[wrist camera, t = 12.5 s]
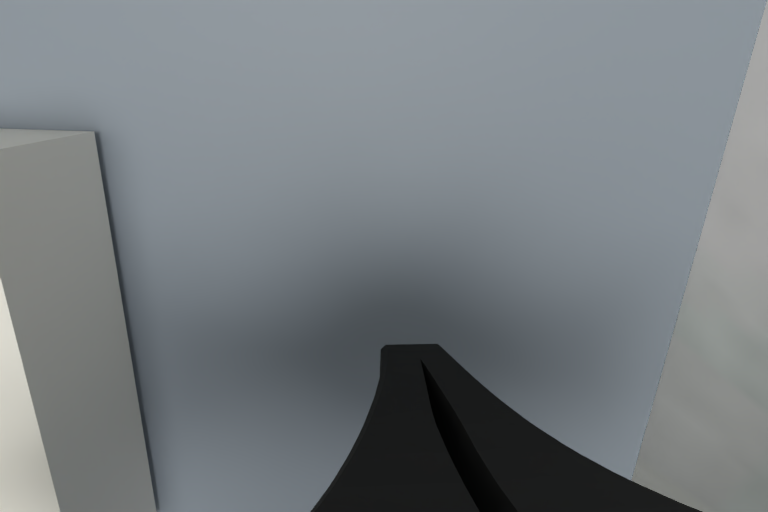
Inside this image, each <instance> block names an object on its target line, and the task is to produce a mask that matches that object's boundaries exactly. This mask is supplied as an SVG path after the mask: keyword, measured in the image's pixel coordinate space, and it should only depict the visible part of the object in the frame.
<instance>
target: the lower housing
mask: <svg viewBox="0 0 768 512" xmlns="http://www.w3.org/2000/svg"><path fill="white" fill-rule="evenodd" d="M0 512H156V506H155V500H154V494H153V488H152V482H151V476H150V470H149V463H148V457H147V451H146V445H145V439H144V433H143V427H142V421H141V415H140V408H139V402H138V396H137V390H136V384H135V378H134V372H133V366H132V360H131V354H130V347H129V341H128V335H127V329H126V323H125V317H124V311H123V305H122V299H121V292H120V286H119V280H118V274H117V268H116V262H115V256H114V250H113V244H112V237H111V231H110V225H109V219H108V213H107V207H106V201H105V195H104V189H103V183H102V176H101V170H100V164H99V158H98V152H97V146H96V140H95V134H94V131H63V130H31V129H0Z"/></svg>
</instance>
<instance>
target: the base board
mask: <svg viewBox="0 0 768 512" xmlns="http://www.w3.org/2000/svg"><path fill="white" fill-rule="evenodd" d="M766 2H767V0H0V129H31V130H63V131H94V134H95V140H96V146H97V152H98V158H99V164H100V170H101V176H102V183H103V189H104V195H105V201H106V207H107V213H108V219H109V225H110V231H111V237H112V244H113V250H114V256H115V262H116V268H117V274H118V280H119V286H120V292H121V299H122V305H123V311H124V317H125V323H126V329H127V335H128V341H129V347H130V354H131V360H132V366H133V372H134V378H135V384H136V390H137V396H138V402H139V408H140V415H141V421H142V427H143V433H144V439H145V445H146V451H147V457H148V463H149V470H150V476H151V482H152V488H153V494H154V500H155V506H156V512H311V510H312V509H313V508H314V506H315V505H316V503H317V502H318V501H319V499H320V498H321V497H322V495H323V494H324V493H325V491H326V490H327V489H328V487H329V486H330V484H331V483H332V481H333V480H334V478H335V476H336V475H337V473H338V472H339V470H340V468H341V467H342V465H343V463H344V462H345V460H346V458H347V456H348V455H349V453H350V451H351V449H352V447H353V445H354V443H355V442H356V440H357V438H358V436H359V433H360V431H361V429H362V427H363V425H364V422H365V420H366V417H367V415H368V412H369V410H370V407H371V404H372V402H373V399H374V396H375V393H376V389H377V385H378V382H379V378H380V354H381V348H383V347H384V346H385V345H397V344H439V345H440V346H441V347H442V348H443V349H444V350H445V351H446V352H447V353H448V354H449V355H450V356H452V357H453V358H454V359H455V360H456V361H457V362H458V363H459V364H460V365H461V366H462V367H463V368H464V369H465V370H466V371H468V372H469V373H470V374H471V375H472V376H473V377H474V378H475V379H476V380H478V381H479V382H480V383H481V384H482V385H483V386H484V387H486V388H487V389H488V390H489V391H490V392H491V393H493V394H494V395H495V396H496V397H498V398H499V399H500V400H501V401H503V402H504V403H505V404H506V405H508V406H509V407H510V408H512V409H513V410H514V411H516V412H517V413H518V414H520V415H521V416H522V417H523V418H525V419H526V420H528V421H529V422H531V423H532V424H533V425H535V426H536V427H538V428H539V429H541V430H542V431H544V432H546V433H547V434H549V435H550V436H552V437H553V438H555V439H556V440H558V441H559V442H561V443H563V444H564V445H566V446H568V447H569V448H571V449H573V450H574V451H576V452H578V453H579V454H581V455H583V456H585V457H587V458H589V459H590V460H592V461H594V462H596V463H598V464H600V465H601V466H603V467H605V468H607V469H609V470H611V471H613V472H615V473H616V474H619V475H621V476H623V477H625V478H627V479H629V480H631V479H632V476H633V472H634V469H635V465H636V462H637V458H638V455H639V451H640V448H641V444H642V441H643V437H644V433H645V430H646V426H647V423H648V419H649V416H650V412H651V409H652V405H653V402H654V398H655V395H656V391H657V387H658V384H659V380H660V377H661V373H662V370H663V366H664V363H665V359H666V356H667V352H668V349H669V345H670V341H671V338H672V334H673V331H674V327H675V324H676V320H677V317H678V313H679V310H680V306H681V303H682V299H683V295H684V292H685V288H686V285H687V281H688V278H689V274H690V271H691V267H692V264H693V260H694V257H695V253H696V249H697V246H698V242H699V239H700V235H701V232H702V228H703V225H704V221H705V218H706V214H707V211H708V207H709V203H710V200H711V196H712V193H713V189H714V186H715V182H716V179H717V175H718V172H719V168H720V165H721V161H722V157H723V154H724V150H725V147H726V143H727V140H728V136H729V133H730V129H731V126H732V122H733V119H734V115H735V111H736V108H737V104H738V101H739V97H740V94H741V90H742V87H743V83H744V80H745V76H746V73H747V69H748V65H749V62H750V58H751V55H752V51H753V48H754V44H755V41H756V37H757V34H758V30H759V27H760V23H761V19H762V16H763V12H764V9H765V5H766Z"/></svg>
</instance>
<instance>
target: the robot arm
mask: <svg viewBox="0 0 768 512" xmlns="http://www.w3.org/2000/svg"><path fill="white" fill-rule="evenodd" d="M311 512H702V511H699V510H697V509H694V508H691V507H689V506H686V505H684V504H682V503H679V502H677V501H675V500H672V499H670V498H668V497H666V496H663V495H661V494H659V493H657V492H655V491H652V490H650V489H648V488H646V487H643V486H641V485H639V484H637V483H635V482H633V481H631V480H629V479H627V478H625V477H623V476H621V475H619V474H616V473H615V472H613V471H611V470H609V469H607V468H605V467H603V466H601V465H600V464H598V463H596V462H594V461H592V460H590V459H589V458H587V457H585V456H583V455H581V454H579V453H578V452H576V451H574V450H573V449H571V448H569V447H568V446H566V445H564V444H563V443H561V442H559V441H558V440H556V439H555V438H553V437H552V436H550V435H549V434H547V433H546V432H544V431H542V430H541V429H539V428H538V427H536V426H535V425H533V424H532V423H531V422H529V421H528V420H526V419H525V418H523V417H522V416H521V415H520V414H518V413H517V412H516V411H514V410H513V409H512V408H510V407H509V406H508V405H506V404H505V403H504V402H503V401H501V400H500V399H499V398H498V397H496V396H495V395H494V394H493V393H491V392H490V391H489V390H488V389H487V388H486V387H484V386H483V385H482V384H481V383H480V382H479V381H478V380H476V379H475V378H474V377H473V376H472V375H471V374H470V373H469V372H468V371H466V370H465V369H464V368H463V367H462V366H461V365H460V364H459V363H458V362H457V361H456V360H455V359H454V358H453V357H452V356H450V355H449V354H448V353H447V352H446V351H445V350H444V349H443V348H442V347H441V346H440V345H439V344H397V345H385V346H384V347H383V348H381V354H380V378H379V382H378V385H377V389H376V393H375V396H374V399H373V402H372V404H371V407H370V410H369V412H368V415H367V417H366V420H365V422H364V425H363V427H362V429H361V431H360V433H359V436H358V438H357V440H356V442H355V443H354V445H353V447H352V449H351V451H350V453H349V455H348V456H347V458H346V460H345V462H344V463H343V465H342V467H341V468H340V470H339V472H338V473H337V475H336V476H335V478H334V480H333V481H332V483H331V484H330V486H329V487H328V489H327V490H326V491H325V493H324V494H323V495H322V497H321V498H320V499H319V501H318V502H317V503H316V505H315V506H314V508H313V509H312V510H311Z"/></svg>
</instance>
